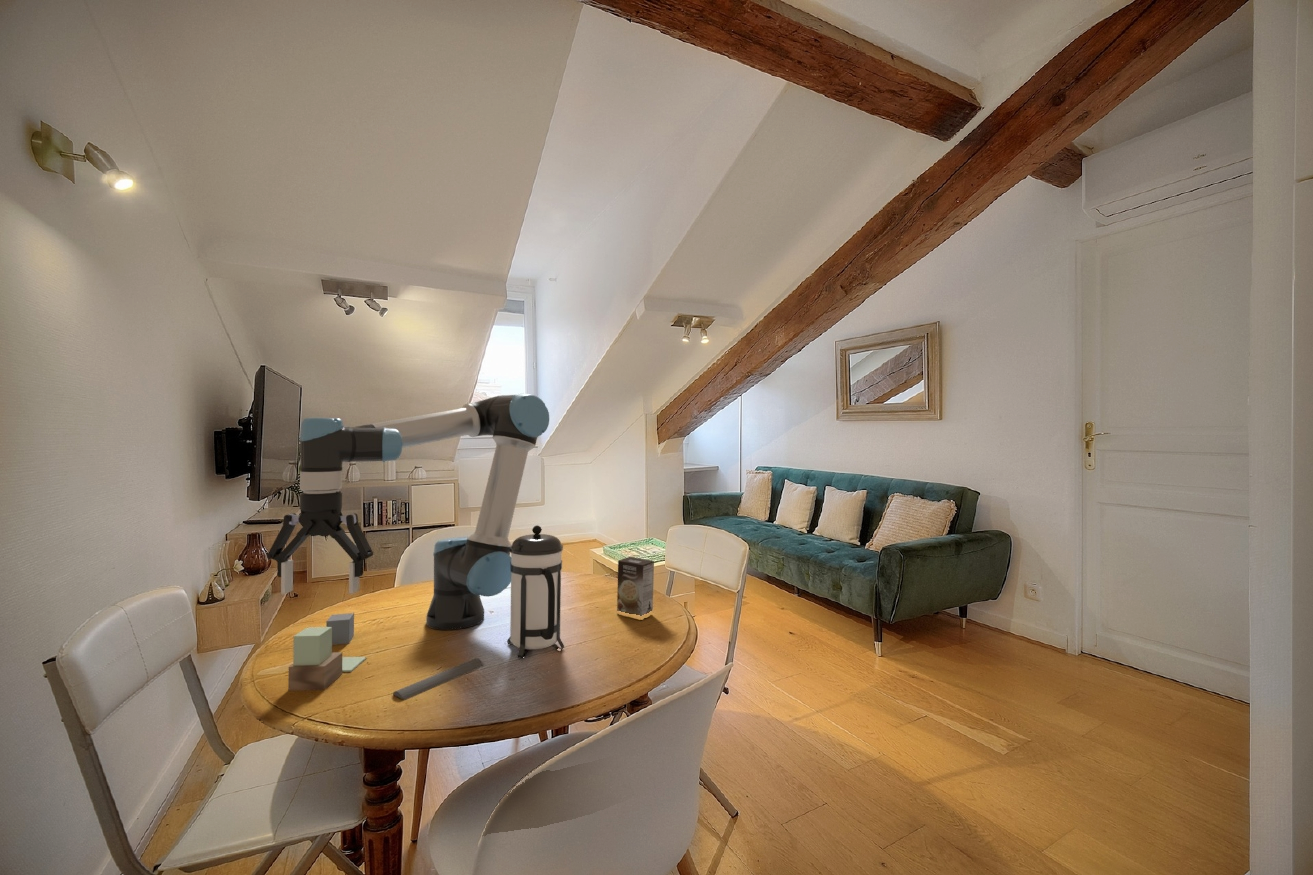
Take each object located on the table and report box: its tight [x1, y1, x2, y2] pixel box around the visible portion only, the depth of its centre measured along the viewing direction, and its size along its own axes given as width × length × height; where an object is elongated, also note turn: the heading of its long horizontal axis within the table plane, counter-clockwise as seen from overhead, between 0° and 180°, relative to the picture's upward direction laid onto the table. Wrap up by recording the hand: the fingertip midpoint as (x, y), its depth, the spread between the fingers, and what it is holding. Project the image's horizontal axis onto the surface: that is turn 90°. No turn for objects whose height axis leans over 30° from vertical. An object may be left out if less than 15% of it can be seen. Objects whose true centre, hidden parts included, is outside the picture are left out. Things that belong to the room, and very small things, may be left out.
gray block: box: [325, 612, 355, 646], centre depth 134 cm, size 5×5×6 cm
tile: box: [342, 656, 367, 673], centre depth 120 cm, size 7×7×1 cm
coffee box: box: [616, 556, 655, 616], centre depth 157 cm, size 9×6×16 cm
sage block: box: [292, 626, 333, 666], centre depth 112 cm, size 5×5×6 cm
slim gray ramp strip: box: [392, 657, 484, 701], centre depth 114 cm, size 4×20×2 cm, turn 147°
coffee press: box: [506, 524, 565, 659], centre depth 131 cm, size 17×16×30 cm
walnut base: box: [287, 651, 343, 691], centre depth 112 cm, size 7×7×5 cm
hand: (320, 592), depth 113 cm, fingers open, 13 cm apart
